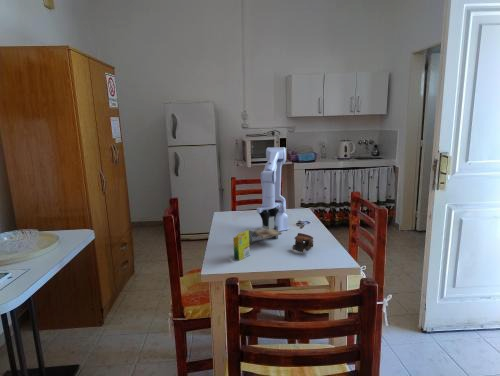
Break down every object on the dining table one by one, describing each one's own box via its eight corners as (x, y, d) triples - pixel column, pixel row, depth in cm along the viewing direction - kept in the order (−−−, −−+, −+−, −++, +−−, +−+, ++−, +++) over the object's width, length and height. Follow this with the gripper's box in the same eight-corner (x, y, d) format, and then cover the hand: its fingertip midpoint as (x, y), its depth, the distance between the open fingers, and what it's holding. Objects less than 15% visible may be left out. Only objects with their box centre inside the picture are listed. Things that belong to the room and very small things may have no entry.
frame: (271, 235, 170) (271, 223, 169) (278, 239, 165) (277, 226, 164) (243, 241, 163) (243, 228, 162) (250, 245, 158) (249, 231, 156)
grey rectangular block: (267, 226, 159) (267, 215, 158) (274, 227, 156) (274, 216, 155) (262, 228, 156) (262, 216, 155) (268, 229, 153) (268, 218, 152)
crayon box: (245, 253, 147) (244, 228, 145) (250, 255, 145) (249, 229, 143) (233, 259, 141) (232, 232, 139) (238, 260, 139) (238, 234, 137)
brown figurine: (287, 248, 152) (292, 231, 154) (303, 254, 156) (308, 237, 157) (302, 251, 141) (307, 232, 143) (319, 257, 145) (324, 239, 147)
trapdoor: (267, 230, 170) (267, 224, 169) (283, 238, 157) (283, 232, 157) (246, 234, 164) (246, 228, 163) (260, 243, 151) (260, 236, 151)
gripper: (271, 192, 161) (272, 219, 163) (251, 197, 151) (252, 226, 153) (283, 194, 156) (283, 222, 159) (263, 199, 146) (263, 229, 148)
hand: (268, 224), depth 156 cm, fingers closed on grey rectangular block, 4 cm apart
